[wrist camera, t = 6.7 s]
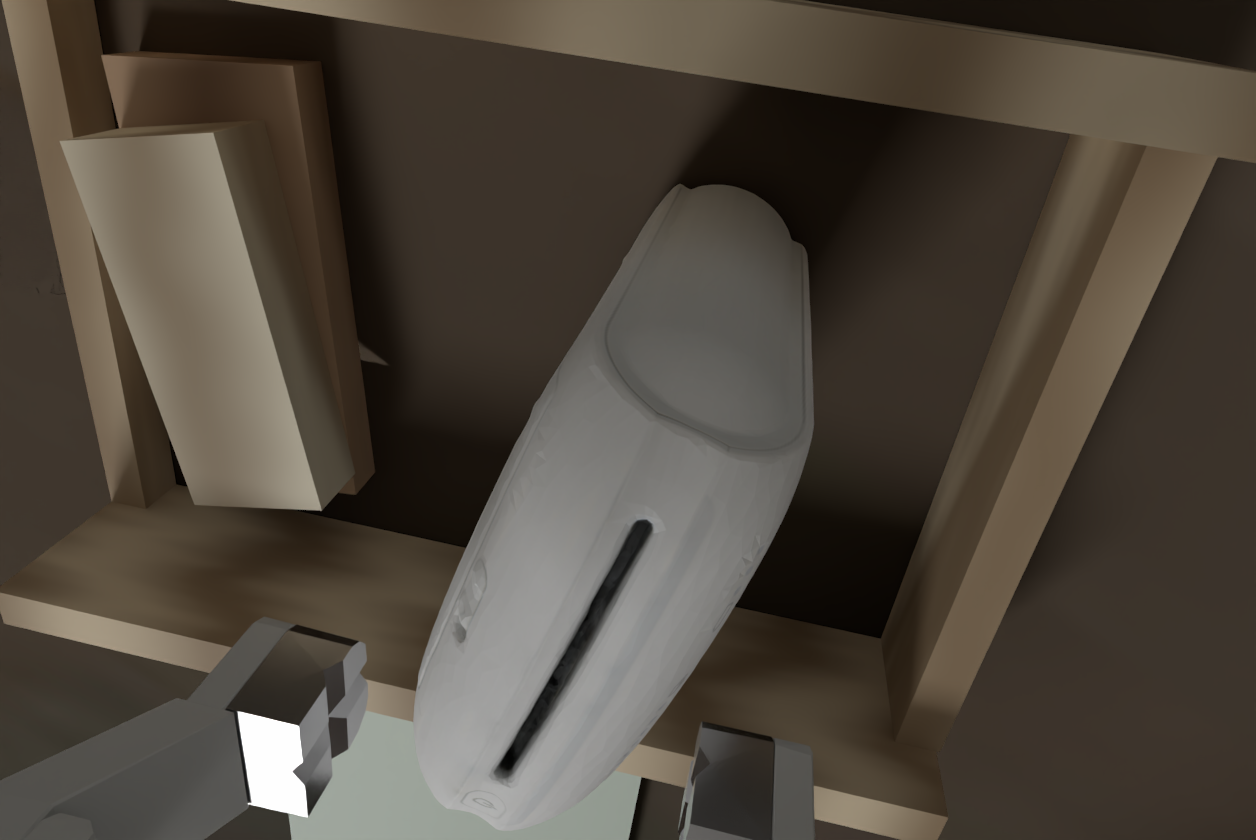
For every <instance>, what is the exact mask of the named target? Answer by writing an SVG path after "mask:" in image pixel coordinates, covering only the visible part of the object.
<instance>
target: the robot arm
mask: <svg viewBox="0 0 1256 840" xmlns="http://www.w3.org/2000/svg"><path fill="white" fill-rule="evenodd" d="M366 661H367V656H366V644H365V643H362V642H360V641H357V640H353V639H349V638H346V637H342V636H338V635H334V634H331V633H327V632H323V631H319V630H316V629H312V628H308V627H304V626H301V625H295V624H291V623H288V622H284V621H280V620H276V619H272V618H268V617H263V618H261V619H259V620H257V621H256V622H254V623H253V624H252V625H251V626H250V627H249V628H248V629H247V631H246V632H245V633H244V634H243V635H242V636H241V638H240V639H239V640H238V641H237V642H236V643H235V645H234V646H233V647H232V648H231V649H230V650H229V652H228V653H227V654H226V655H225V656H224V657H223V659H222V660H221V661H220V662H219V663H218V664H217V666H216V667H215V668H214V669H213V670H212V671H211V673H210V674H209V675H208V676H207V677H206V678H205V679H204V681H203V682H202V683H201V684H200V685H199V686H198V688H197V689H196V690H195V691H194V692H193V693H192V695H191V696H190V697H189V698H188V699H187V700H183V699H178V698H176V699H174V700H172V701H170V702H167V703H165V704H163V705H161V706H159V707H157V708H155V709H152V710H150V711H148V712H146V713H144V714H142V715H140V716H137V717H135V718H133V719H131V720H129V721H127V722H125V723H122V724H120V725H118V726H116V727H114V728H112V729H110V730H107V731H105V732H103V733H101V734H99V735H97V736H95V737H92V738H90V739H88V740H86V741H84V742H82V743H80V744H78V745H75V746H73V747H71V748H69V749H67V750H65V751H63V752H60V753H58V754H56V755H54V756H52V757H50V758H48V759H45V760H43V761H41V762H39V763H37V764H35V765H33V766H30V767H28V768H26V769H24V770H22V771H20V772H18V773H15V774H13V775H11V776H9V777H7V778H5V779H3V780H0V840H204V839H205V838H207V837H208V836H209V835H211V834H212V833H214V832H215V831H217V830H218V829H219V828H221V827H222V826H224V825H225V824H226V823H228V822H229V821H231V820H232V819H234V818H235V817H236V816H238V815H239V814H241V813H242V812H243V811H245V810H246V809H248V804H250V805H255V806H259V807H263V808H268V809H272V810H277V811H281V812H285V813H290V814H294V815H299V816H303V817H307V818H308V817H309V815H310V813H311V812H312V810H313V808H314V807H315V805H316V803H317V802H318V800H319V798H320V796H321V795H322V793H323V791H324V790H325V788H326V786H327V785H328V783H329V781H330V780H331V778H332V776H333V775H332V759H333V758H334V757H336V756H338V755H339V754H341V753H343V752H345V751H346V750H348V749H349V747H350V745H351V744H352V742H353V740H354V738H355V737H356V735H357V733H358V731H359V728H360V725H361V723H362V720H363V717H364V714H365V712H366V706H367V699H368V683H367V682H366V680H365V679H364V678H363V676H362V675H361V674H360V671H361V669H362V668H363V666H364V665H365V663H366ZM678 833H679V835H680V838H679V840H815V820H814V780H813V752H812V750H811V748H810V746H807V745H803V744H799V743H794V742H790V741H786V740H782V739H777V738H773V739H772V737H771V736H766V735H762V734H757V733H753V732H748V731H744V730H739V729H735V728H730V727H726V726H721V725H717V724H713V723H708V722H704V721H702V722H701V725H700V728H699V732H698V735H697V739H696V746H695V753H694V760H693V761H691V764H690V768H689V773H688V777H687V782H686V786H685V791H684V796H683V802H682V808H681V815H680V821H679V828H678Z"/></svg>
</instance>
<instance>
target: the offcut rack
mask: <svg viewBox="0 0 1256 840" xmlns="http://www.w3.org/2000/svg"><path fill="white" fill-rule="evenodd" d="M231 1H238V2H244V3H250V4H257V5H263V6H269V7H276V8H282V9H288V10H294V11H301V12H307V13H313V14H320V15H326V16H332V17H339V18H345V19H351V20H358V21H364V22H370V23H376V24H383V25H389V26H395V27H402V28H408V29H414V30H421V31H427V32H433V33H439V34H446V35H452V36H458V37H465V38H471V39H477V40H484V41H490V42H496V43H502V44H509V45H515V46H521V47H528V48H534V49H540V50H547V51H553V52H559V53H565V54H572V55H578V56H584V57H591V58H597V59H603V60H610V61H616V62H622V63H629V64H635V65H641V66H647V67H654V68H660V69H666V70H673V71H679V72H685V73H692V74H698V75H704V76H710V77H717V78H723V79H729V80H736V81H742V82H748V83H755V84H761V85H767V86H773V87H780V88H786V89H792V90H799V91H805V92H811V93H818V94H824V95H830V96H837V97H843V98H849V99H855V100H862V101H868V102H874V103H881V104H887V105H893V106H900V107H906V108H912V109H918V110H925V111H931V112H937V113H944V114H950V115H956V116H963V117H969V118H975V119H981V120H988V121H994V122H1000V123H1007V124H1013V125H1019V126H1026V127H1032V128H1038V129H1045V130H1051V131H1057V132H1063V133H1070V137H1069V140H1068V142H1067V145H1066V148H1065V150H1064V153H1063V156H1062V158H1061V161H1060V164H1059V166H1058V169H1057V172H1056V174H1055V177H1054V180H1053V182H1052V185H1051V188H1050V190H1049V193H1048V196H1047V198H1046V201H1045V204H1044V206H1043V209H1042V212H1041V214H1040V217H1039V219H1038V222H1037V225H1036V227H1035V230H1034V233H1033V235H1032V238H1031V241H1030V243H1029V246H1028V249H1027V251H1026V254H1025V257H1024V259H1023V262H1022V265H1021V267H1020V270H1019V273H1018V275H1017V278H1016V281H1015V283H1014V286H1013V289H1012V291H1011V294H1010V297H1009V299H1008V302H1007V304H1006V307H1005V310H1004V312H1003V315H1002V318H1001V320H1000V323H999V326H998V328H997V331H996V334H995V336H994V339H993V342H992V344H991V347H990V350H989V352H988V355H987V358H986V360H985V363H984V366H983V368H982V371H981V374H980V376H979V379H978V382H977V384H976V387H975V389H974V392H973V395H972V397H971V400H970V403H969V405H968V408H967V411H966V413H965V416H964V419H963V421H962V424H961V427H960V429H959V432H958V435H957V437H956V440H955V443H954V445H953V448H952V451H951V453H950V456H949V459H948V461H947V464H946V467H945V469H944V472H943V474H942V477H941V480H940V482H939V485H938V488H937V490H936V493H935V496H934V498H933V501H932V504H931V506H930V509H929V512H928V514H927V517H926V520H925V522H924V525H923V528H922V530H921V533H920V536H919V538H918V541H917V544H916V546H915V549H914V552H913V554H912V557H911V559H910V562H909V565H908V567H907V570H906V573H905V575H904V578H903V581H902V583H901V586H900V589H899V591H898V594H897V597H896V599H895V602H894V605H893V607H892V610H891V613H890V615H889V618H888V621H887V623H886V626H885V629H884V631H883V634H882V637H881V639H880V638H876V637H871V636H866V635H862V634H857V633H853V632H848V631H844V630H839V629H834V628H830V627H825V626H821V625H816V624H812V623H807V622H802V621H798V620H793V619H789V618H784V617H780V616H775V615H770V614H766V613H761V612H757V611H752V610H748V609H743V608H738V607H734V608H733V610H732V611H731V613H730V615H729V617H728V618H727V620H726V622H725V623H724V625H723V626H722V628H721V629H720V631H719V632H718V634H717V635H716V637H715V639H714V640H713V642H712V643H711V645H710V646H709V648H708V649H707V651H706V652H705V654H704V655H703V657H702V658H701V659H700V661H699V663H698V664H697V666H696V667H695V669H694V670H693V672H692V673H691V675H690V676H689V677H688V679H687V680H686V682H685V683H684V684H683V686H682V687H681V689H680V690H679V691H678V693H677V694H676V696H675V697H674V699H673V700H672V701H671V703H670V704H669V706H668V707H667V708H666V710H665V711H664V712H663V714H662V715H661V716H660V718H659V719H658V720H657V721H656V723H655V724H654V725H653V727H652V728H651V729H650V730H649V732H648V733H647V734H646V736H645V737H644V738H643V739H642V740H641V742H640V743H639V744H638V745H637V746H636V747H635V749H634V750H633V751H632V752H631V753H630V754H629V755H628V757H627V758H626V759H625V760H624V761H623V762H622V763H621V764H620V765H619V767H618V768H617V769H616V770H615V771H619V772H623V773H627V774H631V775H635V776H639V777H643V778H648V779H652V780H656V781H660V782H664V783H668V784H673V785H677V786H681V787H685V786H686V782H687V777H688V773H689V768H690V764H691V761H693V760H694V753H695V746H696V739H697V735H698V732H699V728H700V725H701V722H702V721H704V722H708V723H713V724H717V725H721V726H726V727H730V728H735V729H739V730H744V731H748V732H753V733H757V734H762V735H766V736H771V737H772V739H773V738H777V739H782V740H786V741H790V742H794V743H799V744H803V745H807V746H810V748H811V750H812V752H813V780H814V819H818V820H822V821H826V822H830V823H834V824H839V825H843V826H847V827H851V828H855V829H859V830H863V831H868V832H872V833H876V834H880V835H884V836H888V837H893V838H897V839H901V840H937V839H938V837H939V835H940V833H941V831H942V829H943V827H944V825H945V823H946V821H947V819H948V813H947V807H946V802H945V797H944V791H943V786H942V781H941V775H940V770H939V765H938V759H937V754H936V752H940V751H941V749H942V747H943V744H944V742H945V740H946V738H947V736H948V734H949V732H950V729H951V727H952V725H953V723H954V721H955V719H956V717H957V714H958V712H959V710H960V708H961V706H962V704H963V702H964V699H965V697H966V695H967V693H968V691H969V689H970V687H971V684H972V682H973V680H974V678H975V676H976V674H977V672H978V669H979V667H980V665H981V663H982V661H983V659H984V657H985V654H986V652H987V650H988V648H989V646H990V644H991V642H992V639H993V637H994V635H995V633H996V631H997V629H998V627H999V624H1000V622H1001V620H1002V618H1003V616H1004V614H1005V612H1006V609H1007V607H1008V605H1009V603H1010V601H1011V599H1012V597H1013V594H1014V592H1015V590H1016V588H1017V586H1018V584H1019V582H1020V579H1021V577H1022V575H1023V573H1024V571H1025V569H1026V567H1027V564H1028V562H1029V560H1030V558H1031V556H1032V554H1033V552H1034V549H1035V547H1036V545H1037V543H1038V541H1039V539H1040V537H1041V535H1042V532H1043V530H1044V528H1045V526H1046V524H1047V522H1048V520H1049V517H1050V515H1051V513H1052V511H1053V509H1054V507H1055V505H1056V502H1057V500H1058V498H1059V496H1060V494H1061V492H1062V490H1063V487H1064V485H1065V483H1066V481H1067V479H1068V477H1069V475H1070V472H1071V470H1072V468H1073V466H1074V464H1075V462H1076V460H1077V457H1078V455H1079V453H1080V451H1081V449H1082V447H1083V445H1084V442H1085V440H1086V438H1087V436H1088V434H1089V432H1090V430H1091V427H1092V425H1093V423H1094V421H1095V419H1096V417H1097V415H1098V412H1099V410H1100V408H1101V406H1102V404H1103V402H1104V400H1105V397H1106V395H1107V393H1108V391H1109V389H1110V387H1111V385H1112V382H1113V380H1114V378H1115V376H1116V374H1117V372H1118V370H1119V367H1120V365H1121V363H1122V361H1123V359H1124V357H1125V355H1126V352H1127V350H1128V348H1129V346H1130V344H1131V342H1132V340H1133V337H1134V335H1135V333H1136V331H1137V329H1138V327H1139V325H1140V322H1141V320H1142V318H1143V316H1144V314H1145V312H1146V310H1147V307H1148V305H1149V303H1150V301H1151V299H1152V297H1153V295H1154V292H1155V290H1156V288H1157V286H1158V284H1159V282H1160V280H1161V277H1162V275H1163V273H1164V271H1165V269H1166V267H1167V265H1168V263H1169V260H1170V258H1171V256H1172V254H1173V252H1174V250H1175V248H1176V245H1177V243H1178V241H1179V239H1180V237H1181V235H1182V233H1183V230H1184V228H1185V226H1186V224H1187V222H1188V220H1189V218H1190V215H1191V213H1192V211H1193V209H1194V207H1195V205H1196V203H1197V200H1198V198H1199V196H1200V194H1201V192H1202V190H1203V188H1204V185H1205V183H1206V181H1207V179H1208V177H1209V175H1210V173H1211V170H1212V168H1213V166H1214V164H1215V162H1216V160H1217V158H1218V157H1221V158H1227V159H1234V160H1240V161H1246V162H1253V163H1256V71H1253V70H1248V69H1243V68H1237V67H1232V66H1226V65H1221V64H1216V63H1210V62H1205V61H1199V60H1194V59H1189V58H1183V57H1178V56H1172V55H1167V54H1162V53H1156V52H1149V51H1142V50H1135V49H1129V48H1122V47H1115V46H1109V45H1102V44H1095V43H1088V42H1082V41H1075V40H1068V39H1061V38H1055V37H1048V36H1041V35H1034V34H1028V33H1021V32H1014V31H1007V30H1001V29H994V28H987V27H980V26H974V25H967V24H960V23H953V22H947V21H940V20H933V19H926V18H920V17H913V16H906V15H900V14H893V13H886V12H879V11H873V10H866V9H859V8H852V7H846V6H839V5H832V4H825V3H819V2H812V1H805V0H231ZM2 4H3V8H4V13H5V17H6V22H7V26H8V31H9V35H10V40H11V45H12V49H13V54H14V58H15V63H16V67H17V72H18V76H19V81H20V86H21V90H22V95H23V99H24V104H25V108H26V113H27V118H28V122H29V127H30V131H31V136H32V140H33V145H34V149H35V154H36V159H37V163H38V168H39V172H40V177H41V181H42V186H43V190H44V195H45V200H46V204H47V209H48V213H49V218H50V222H51V227H52V231H53V236H54V241H55V245H56V250H57V254H58V259H59V263H60V268H61V272H62V277H63V282H64V286H65V291H66V295H67V300H68V304H69V309H70V314H71V318H72V323H73V327H74V332H75V336H76V341H77V345H78V350H79V355H80V359H81V364H82V368H83V373H84V377H85V382H86V386H87V391H88V396H89V400H90V405H91V409H92V414H93V418H94V423H95V427H96V432H97V437H98V441H99V446H100V450H101V455H102V459H103V464H104V469H105V473H106V478H107V482H108V487H109V491H110V496H111V500H112V502H111V503H109V504H108V505H107V506H105V507H104V508H103V509H101V510H100V511H99V512H97V513H96V514H95V515H93V516H92V517H91V518H89V519H88V520H87V521H85V522H84V523H83V524H82V525H80V526H79V527H78V528H76V529H75V530H74V531H72V532H71V533H70V534H68V535H67V536H66V537H64V538H63V539H62V540H60V541H59V542H58V543H56V544H55V545H54V546H53V547H51V548H50V549H49V550H47V551H46V552H45V553H43V554H42V555H41V556H39V557H38V558H37V559H35V560H34V561H33V562H31V563H30V564H29V565H27V566H26V567H25V568H24V569H22V570H21V571H20V572H18V573H17V574H16V575H14V576H13V577H12V578H10V579H9V580H8V581H6V582H5V583H4V584H2V585H1V586H0V612H1V615H2V618H3V621H4V624H8V625H13V626H17V627H21V628H25V629H29V630H33V631H38V632H42V633H46V634H50V635H54V636H58V637H62V638H67V639H71V640H75V641H79V642H83V643H87V644H91V645H96V646H100V647H104V648H108V649H112V650H116V651H121V652H125V653H129V654H133V655H137V656H141V657H145V658H150V659H154V660H158V661H162V662H166V663H170V664H174V665H179V666H183V667H187V668H191V669H195V670H199V671H204V672H208V673H211V671H212V670H213V669H214V668H215V667H216V666H217V664H218V663H219V662H220V661H221V660H222V659H223V657H224V656H225V655H226V654H227V653H228V652H229V650H230V649H231V648H232V647H233V646H234V645H235V643H236V642H237V641H238V640H239V639H240V638H241V636H242V635H243V634H244V633H245V632H246V631H247V629H248V628H249V627H250V626H251V625H252V624H253V623H254V622H256V621H257V620H259V619H261V618H263V617H268V618H272V619H276V620H280V621H284V622H288V623H291V624H295V625H301V626H304V627H308V628H312V629H316V630H319V631H323V632H327V633H331V634H334V635H338V636H342V637H346V638H349V639H353V640H357V641H360V642H362V643H365V644H366V656H367V661H366V663H365V665H364V666H363V668H362V669H361V671H360V674H361V675H362V676H363V678H364V679H365V680H366V682H367V683H368V699H367V706H366V711H370V712H374V713H378V714H382V715H386V716H390V717H394V718H399V719H403V720H407V721H411V722H413V718H414V703H415V695H416V689H417V684H418V674H419V670H420V667H421V663H422V659H423V656H424V653H425V650H426V647H427V644H428V641H429V638H430V635H431V632H432V629H433V627H434V624H435V622H436V619H437V617H438V614H439V611H440V609H441V606H442V604H443V601H444V598H445V596H446V594H447V592H448V589H449V587H450V584H451V582H452V579H453V577H454V575H455V572H456V570H457V568H458V565H459V563H460V561H461V559H462V557H463V554H464V552H465V550H466V548H464V547H460V546H455V545H451V544H446V543H441V542H437V541H432V540H428V539H423V538H419V537H414V536H409V535H405V534H400V533H396V532H391V531H387V530H382V529H378V528H373V527H368V526H364V525H359V524H355V523H350V522H346V521H341V520H336V519H332V518H327V517H323V516H318V515H314V514H309V513H304V512H300V511H295V510H291V509H274V508H251V507H227V506H204V505H194V502H193V500H192V497H191V494H190V492H189V489H188V487H186V486H181V485H176V479H175V473H174V467H173V462H172V456H171V450H170V444H169V438H168V432H167V430H166V427H165V424H164V421H163V419H162V416H161V413H160V411H159V408H158V405H157V403H156V400H155V397H154V394H153V392H152V389H151V386H150V384H149V381H148V378H147V376H146V373H145V370H144V368H143V365H142V362H141V359H140V357H139V354H138V351H137V349H136V346H135V343H134V341H133V338H132V335H131V332H130V330H129V327H128V324H127V322H126V319H125V316H124V314H123V311H122V308H121V306H120V303H119V300H118V297H117V295H116V292H115V289H114V287H113V284H112V281H111V279H110V276H109V273H108V270H107V268H106V265H105V262H104V260H103V257H102V254H101V252H100V249H99V246H98V244H97V241H96V238H95V235H94V233H93V230H92V227H91V225H90V222H89V219H88V217H87V214H86V211H85V208H84V206H83V203H82V200H81V198H80V195H79V192H78V190H77V187H76V184H75V182H74V179H73V176H72V173H71V171H70V168H69V165H68V163H67V160H66V157H65V155H64V152H63V149H62V146H61V144H60V141H62V140H66V139H71V138H76V137H81V136H85V135H90V134H95V133H100V132H105V131H109V130H114V129H116V127H115V121H114V115H113V109H112V103H111V97H110V92H109V86H108V81H107V77H106V73H105V69H104V65H103V61H102V57H101V55H103V51H102V45H101V39H100V33H99V27H98V21H97V15H96V9H95V4H94V0H2Z"/></svg>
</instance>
